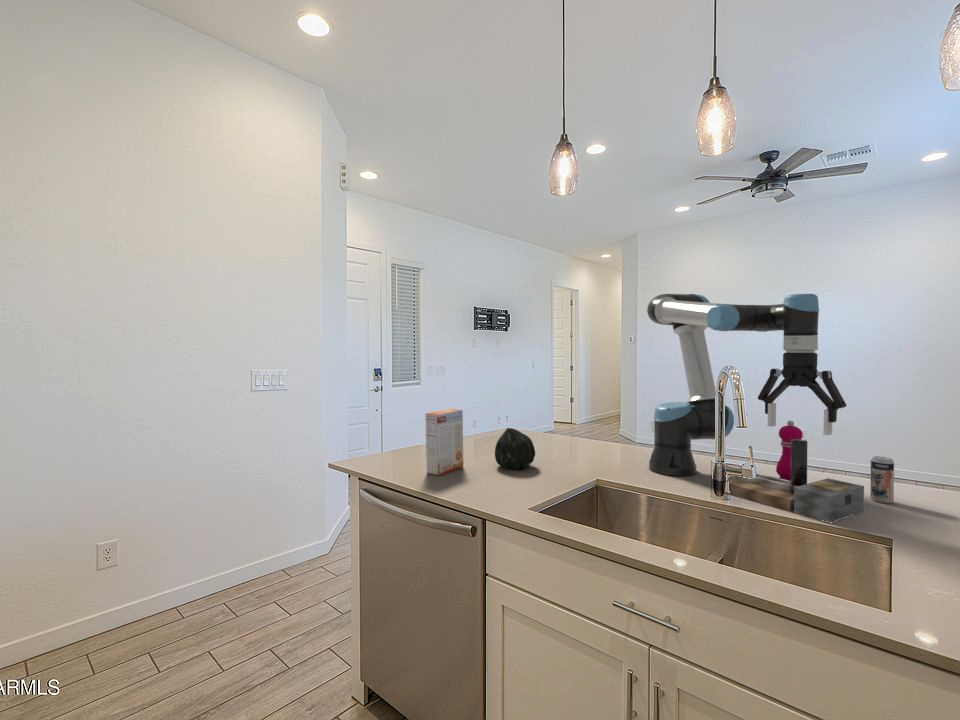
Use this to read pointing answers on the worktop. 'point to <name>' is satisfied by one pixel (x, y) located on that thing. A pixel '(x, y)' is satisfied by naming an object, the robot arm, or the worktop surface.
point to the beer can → (882, 479)
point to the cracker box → (444, 441)
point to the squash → (514, 450)
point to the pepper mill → (787, 449)
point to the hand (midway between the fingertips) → (798, 430)
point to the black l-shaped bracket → (798, 463)
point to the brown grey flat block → (803, 496)
